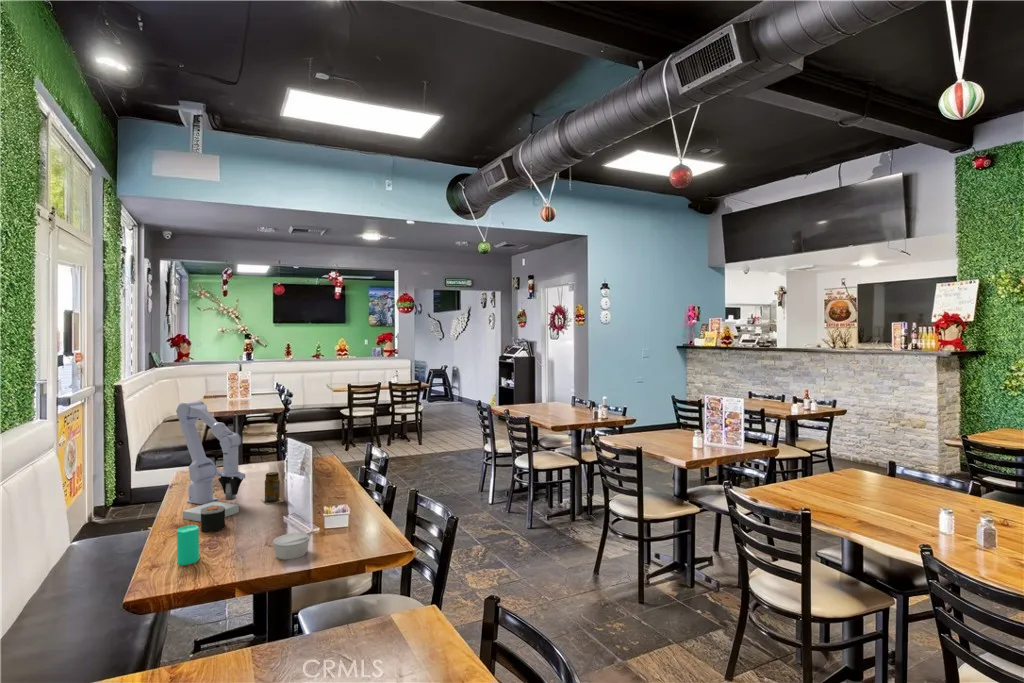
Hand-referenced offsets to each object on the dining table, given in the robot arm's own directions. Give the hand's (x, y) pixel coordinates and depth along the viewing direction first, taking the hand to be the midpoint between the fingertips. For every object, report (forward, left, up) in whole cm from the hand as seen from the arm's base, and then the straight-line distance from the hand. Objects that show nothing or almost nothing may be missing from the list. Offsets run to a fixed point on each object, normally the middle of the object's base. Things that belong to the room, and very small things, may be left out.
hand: (230, 494), depth 236 cm
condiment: (+13, +10, -5) cm, 17 cm away
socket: (+5, -14, -4) cm, 16 cm away
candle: (+38, -50, -5) cm, 63 cm away
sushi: (+19, -25, -5) cm, 32 cm away
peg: (0, 0, -2) cm, 2 cm away
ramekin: (+65, -34, -5) cm, 74 cm away
